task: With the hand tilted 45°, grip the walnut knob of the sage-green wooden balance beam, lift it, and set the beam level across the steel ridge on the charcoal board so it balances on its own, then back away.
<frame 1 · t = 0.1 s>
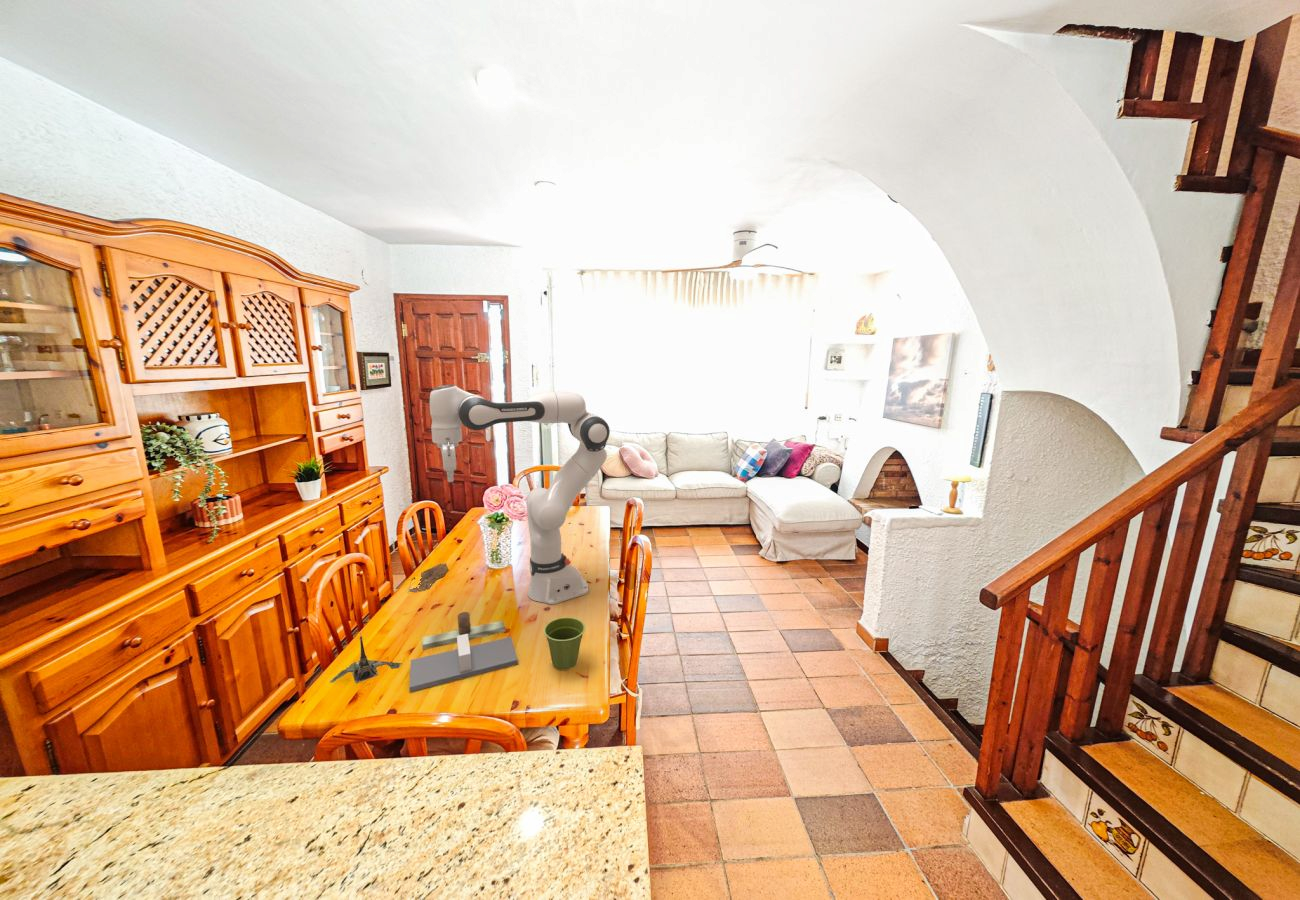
hand: (450, 477, 150), 48 cm above the table, tool pointing down, fingers open, 8 cm apart
eiffel tower figurine: (367, 675, 129), on the table
plant pot: (565, 662, 135), on the table
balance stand: (464, 664, 133), on the table
wooden fragment: (429, 577, 183), on the table
balance beam: (465, 637, 146), on the table
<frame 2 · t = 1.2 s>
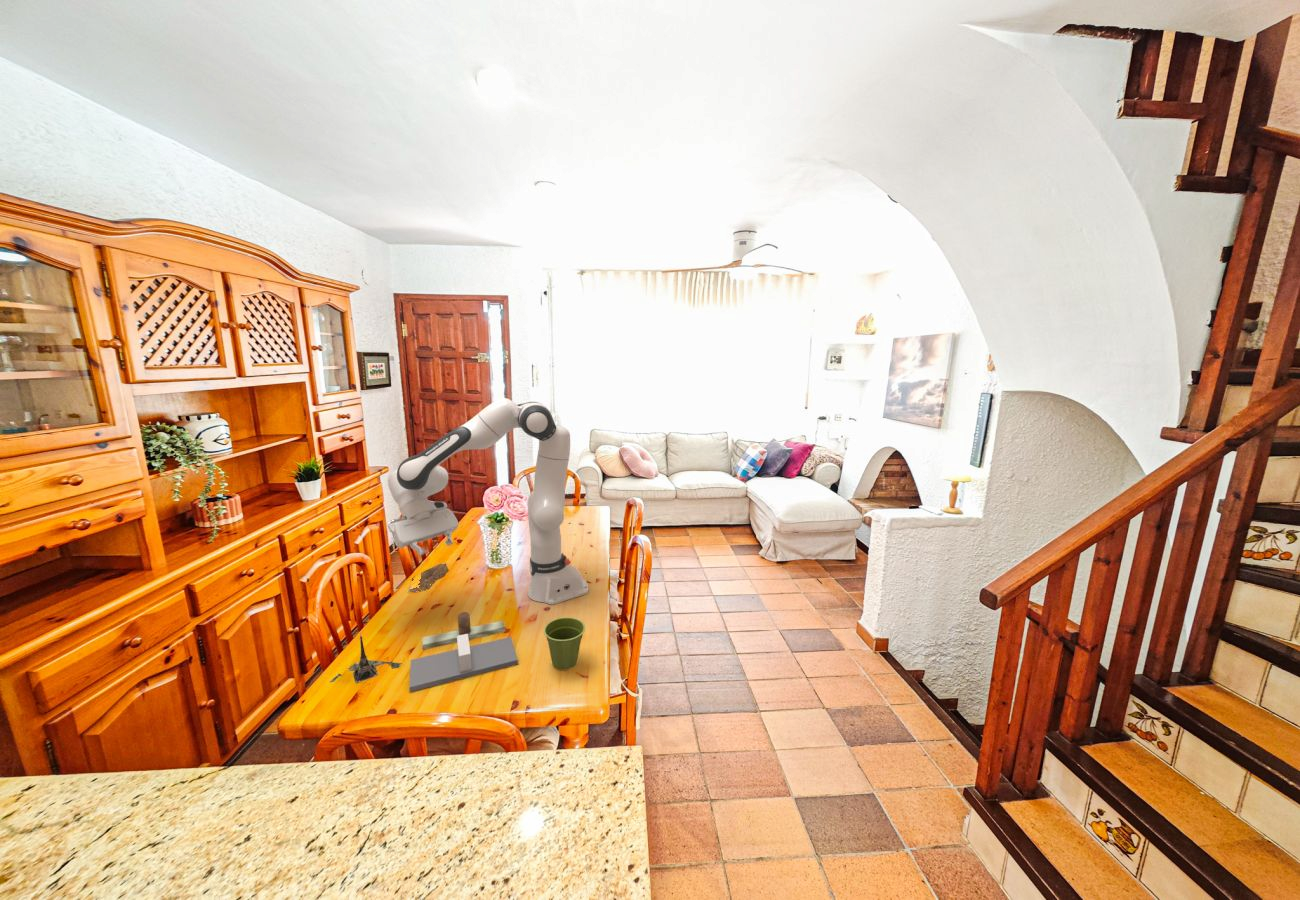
hand: (436, 549, 147), 26 cm above the table, tool tilted 45°, fingers open, 8 cm apart
nothing on the table moved.
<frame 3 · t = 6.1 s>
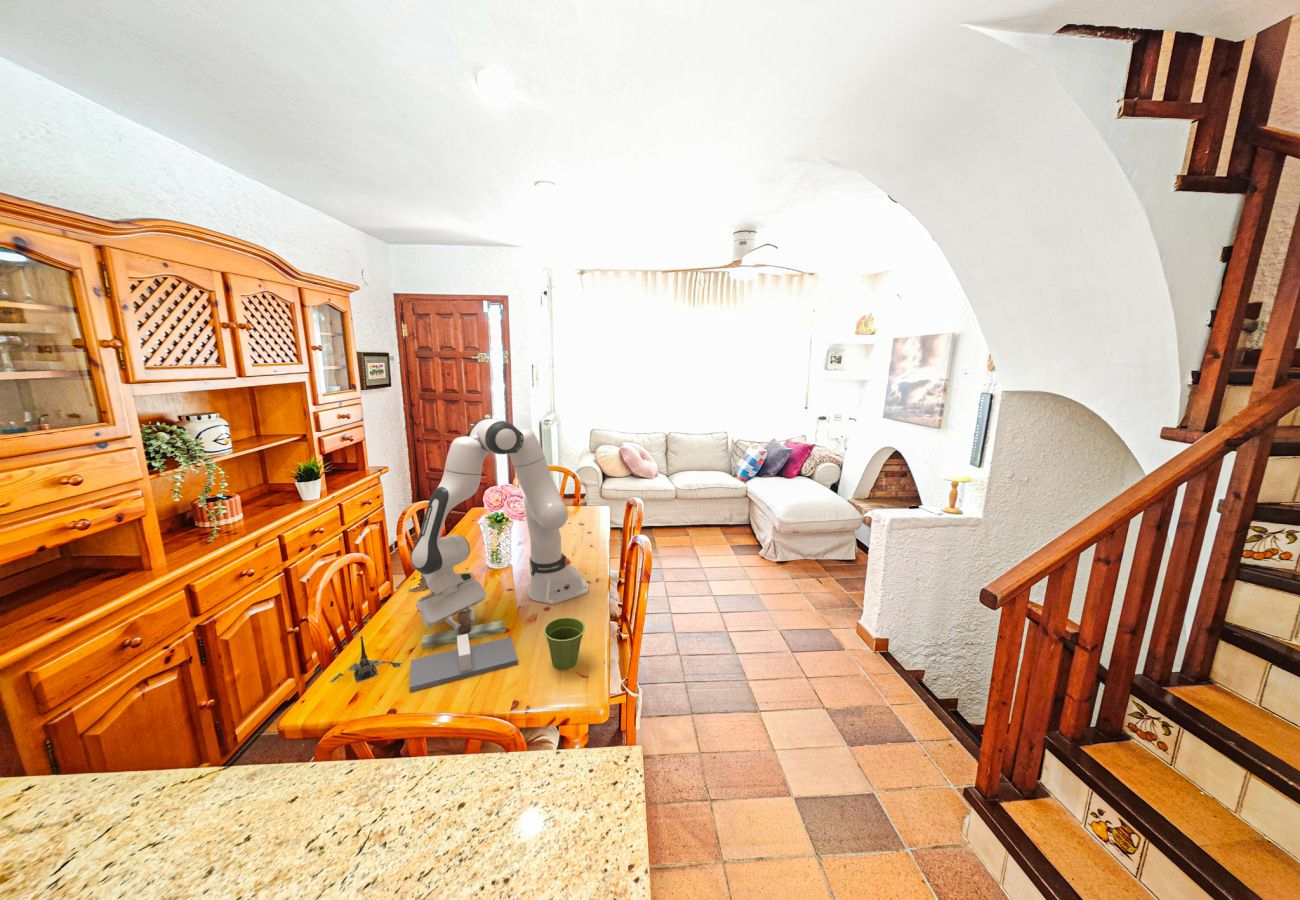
hand: (465, 624, 145), 4 cm above the table, tool tilted 45°, fingers closed on balance beam, 3 cm apart
balance beam: (465, 636, 146), on the table, touching gripper
everything else where it was.
when the fingers open (12 cm above the table, at t = 11.3 s): balance beam stays where it is, resting on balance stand.
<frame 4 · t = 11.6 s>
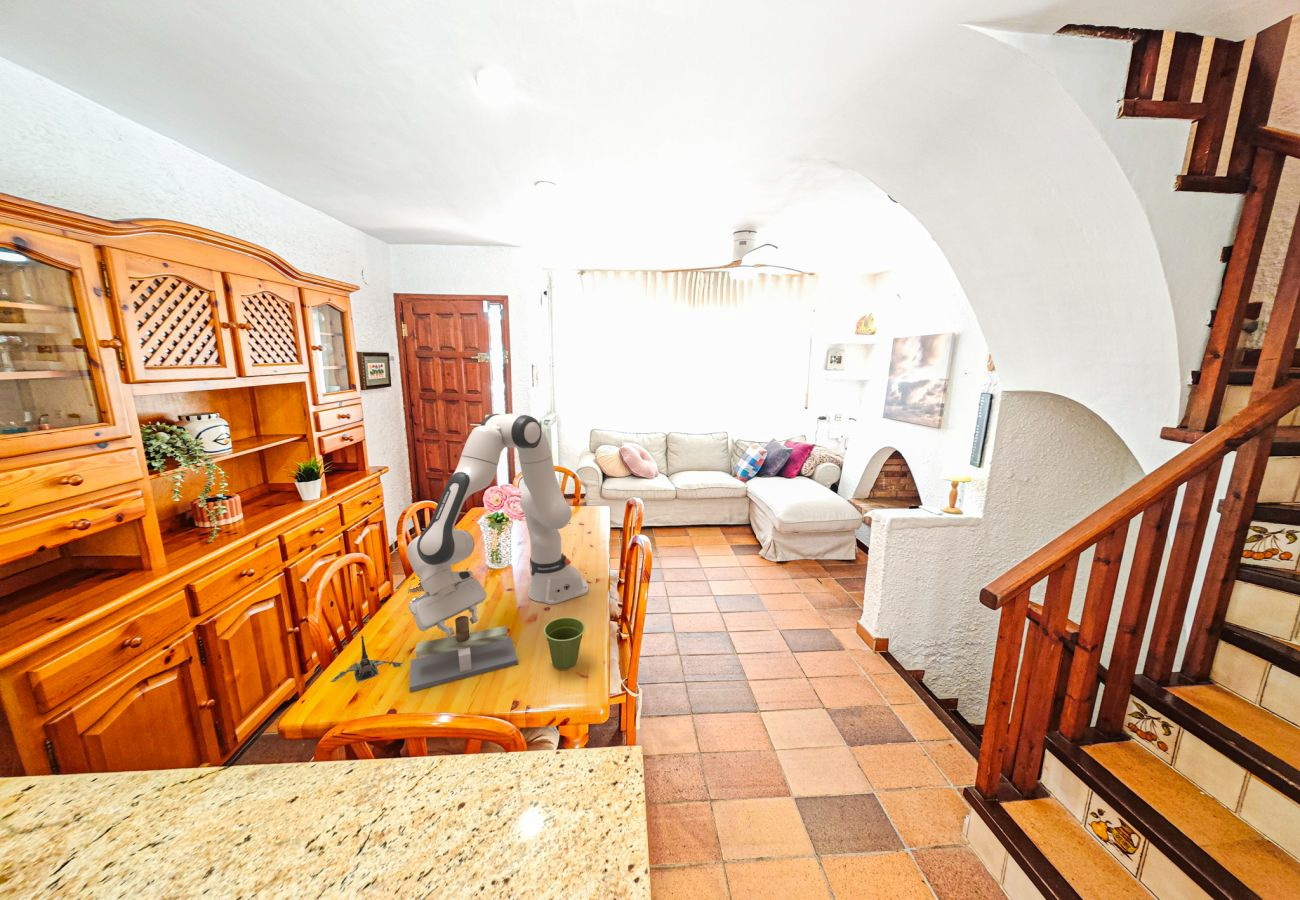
hand: (463, 628, 130), 12 cm above the table, tool tilted 45°, fingers open, 6 cm apart
balance beam: (463, 644, 132), point 6 cm above the table, touching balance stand
everything else where it was.
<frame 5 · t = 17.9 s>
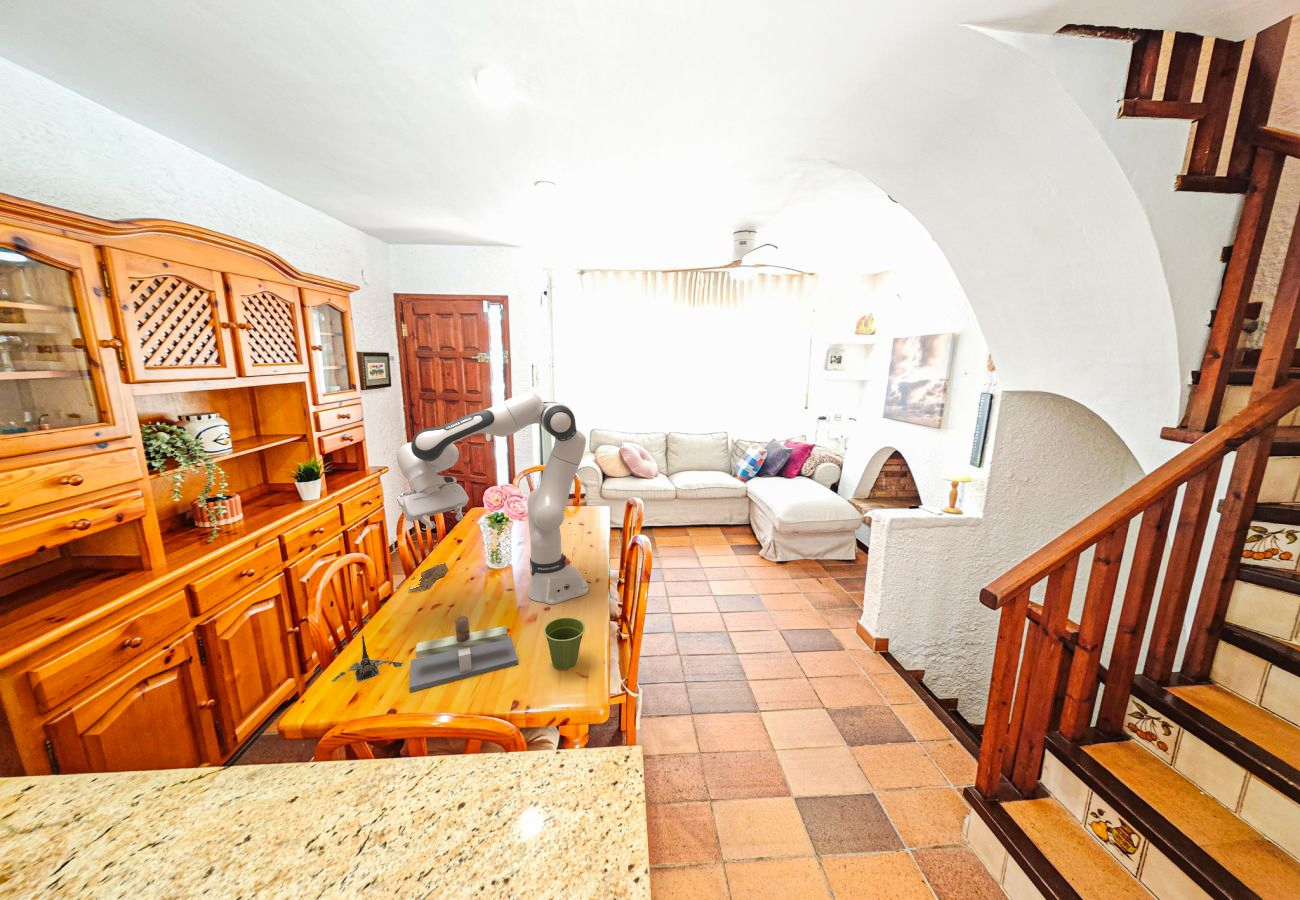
hand: (447, 523, 145), 35 cm above the table, tool tilted 45°, fingers open, 8 cm apart
nothing on the table moved.
at the end: balance beam 0.1 cm off-centre on the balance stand, point 6.5 cm above the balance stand's base; balance beam tilted 0°; the gripper is holding nothing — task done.
